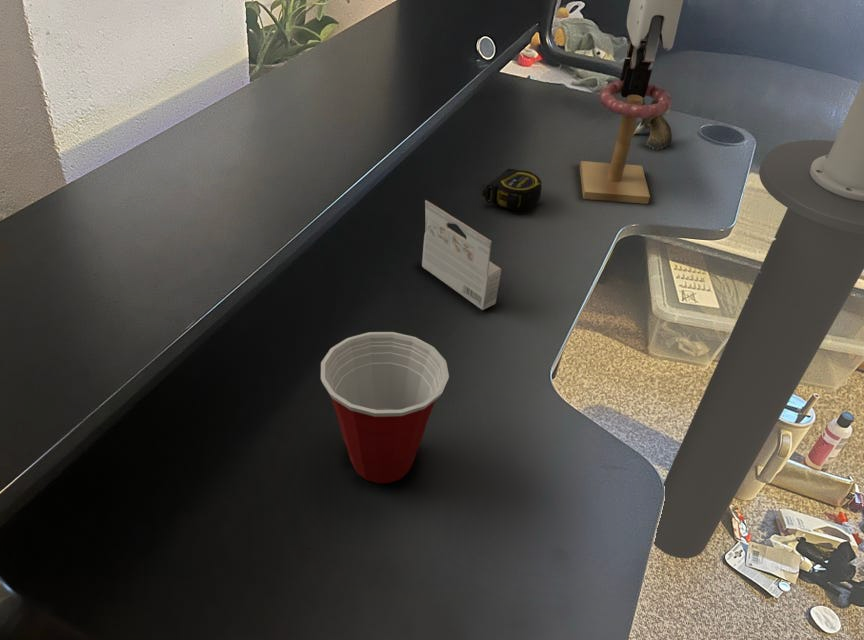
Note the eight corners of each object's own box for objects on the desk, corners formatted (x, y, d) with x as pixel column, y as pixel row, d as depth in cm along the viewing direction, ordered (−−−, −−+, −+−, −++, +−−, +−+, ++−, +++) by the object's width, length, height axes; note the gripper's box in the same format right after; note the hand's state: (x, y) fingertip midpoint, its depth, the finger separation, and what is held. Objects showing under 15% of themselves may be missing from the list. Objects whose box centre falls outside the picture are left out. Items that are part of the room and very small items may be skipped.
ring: (663, 92, 102) (666, 80, 101) (674, 122, 95) (678, 110, 94) (596, 87, 103) (598, 76, 102) (602, 117, 96) (605, 105, 95)
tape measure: (505, 185, 107) (509, 161, 104) (547, 201, 104) (552, 177, 101) (480, 204, 103) (483, 180, 100) (523, 221, 100) (527, 197, 97)
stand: (640, 172, 110) (664, 86, 101) (647, 204, 104) (674, 114, 95) (579, 168, 111) (598, 81, 102) (583, 199, 104) (603, 109, 95)
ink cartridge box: (434, 260, 93) (440, 192, 86) (497, 304, 87) (508, 234, 80) (419, 267, 92) (424, 198, 85) (482, 312, 86) (492, 242, 79)
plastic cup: (444, 422, 73) (454, 330, 65) (434, 512, 65) (444, 421, 57) (336, 409, 74) (333, 318, 66) (314, 497, 66) (306, 405, 58)
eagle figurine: (611, 116, 121) (628, 132, 114) (642, 79, 118) (661, 91, 111) (645, 142, 124) (663, 158, 116) (676, 105, 121) (697, 120, 113)
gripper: (712, -36, 83) (667, 120, 96) (688, -72, 94) (651, 71, 107) (644, -39, 84) (608, 116, 96) (628, -74, 95) (598, 68, 108)
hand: (631, 91), depth 102 cm, fingers closed on ring, 2 cm apart
